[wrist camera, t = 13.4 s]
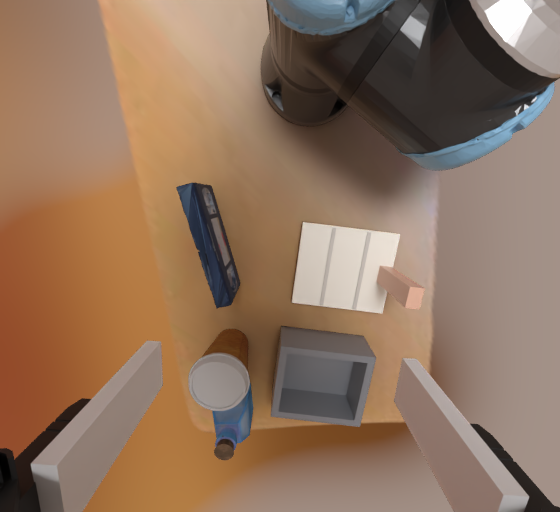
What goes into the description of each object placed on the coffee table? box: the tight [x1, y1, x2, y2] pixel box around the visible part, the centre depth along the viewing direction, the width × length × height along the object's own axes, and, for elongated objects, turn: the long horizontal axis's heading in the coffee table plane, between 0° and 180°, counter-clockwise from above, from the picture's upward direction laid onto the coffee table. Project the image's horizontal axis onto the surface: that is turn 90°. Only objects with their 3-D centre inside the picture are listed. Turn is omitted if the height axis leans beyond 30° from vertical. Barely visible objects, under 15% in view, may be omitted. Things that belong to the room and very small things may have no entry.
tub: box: [271, 326, 376, 427], centre depth 48 cm, size 14×16×7 cm
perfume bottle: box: [212, 384, 253, 460], centre depth 48 cm, size 6×6×12 cm
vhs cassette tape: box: [176, 183, 240, 308], centre depth 41 cm, size 18×3×10 cm, turn 13°
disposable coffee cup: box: [189, 329, 250, 411], centre depth 45 cm, size 10×10×12 cm
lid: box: [292, 222, 425, 313], centre depth 41 cm, size 15×17×13 cm
